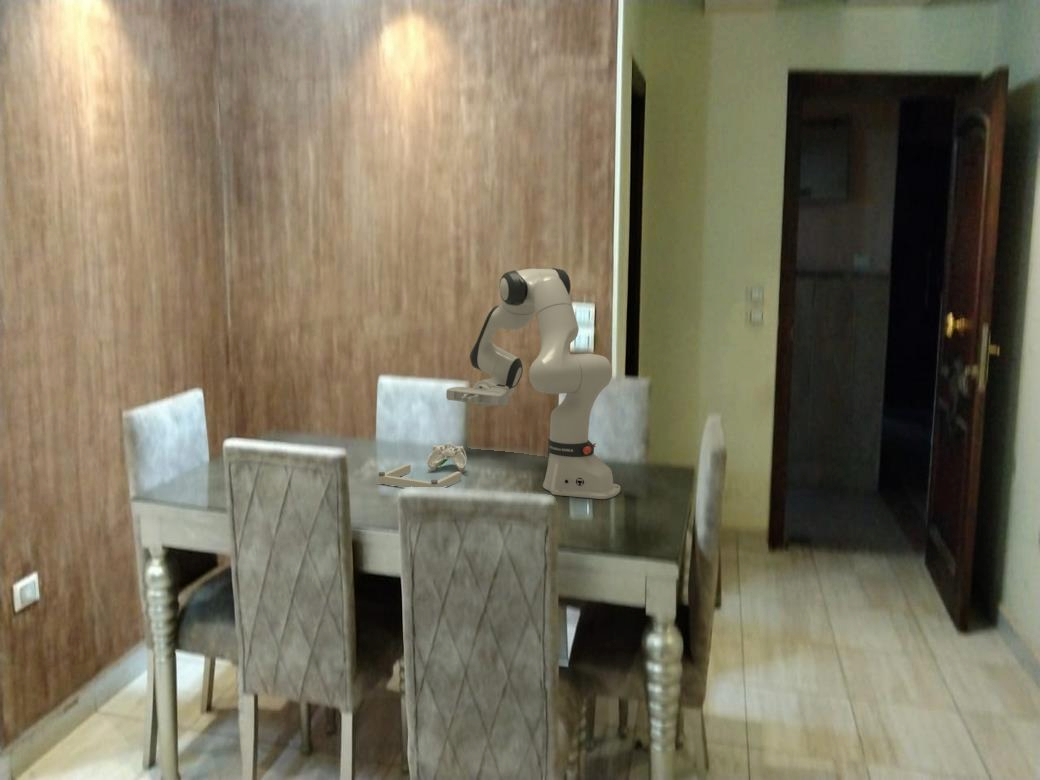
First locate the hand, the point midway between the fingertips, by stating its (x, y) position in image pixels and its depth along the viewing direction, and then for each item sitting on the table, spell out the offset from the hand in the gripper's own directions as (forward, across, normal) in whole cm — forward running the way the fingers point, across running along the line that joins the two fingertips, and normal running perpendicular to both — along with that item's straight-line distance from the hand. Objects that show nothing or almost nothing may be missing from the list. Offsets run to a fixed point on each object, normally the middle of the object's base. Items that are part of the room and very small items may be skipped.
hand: (465, 400), depth 287 cm
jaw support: (+11, +1, +20) cm, 23 cm away
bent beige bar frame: (+28, 0, +20) cm, 35 cm away
